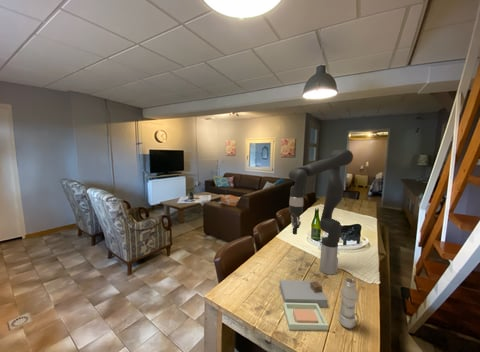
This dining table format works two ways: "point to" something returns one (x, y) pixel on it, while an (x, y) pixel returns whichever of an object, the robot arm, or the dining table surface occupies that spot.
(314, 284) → the walnut block
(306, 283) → the grey slab
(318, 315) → the tray
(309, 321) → the terracotta tile
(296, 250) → the dining table surface
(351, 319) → the plastic bottle
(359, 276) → the dining table surface
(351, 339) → the dining table surface
